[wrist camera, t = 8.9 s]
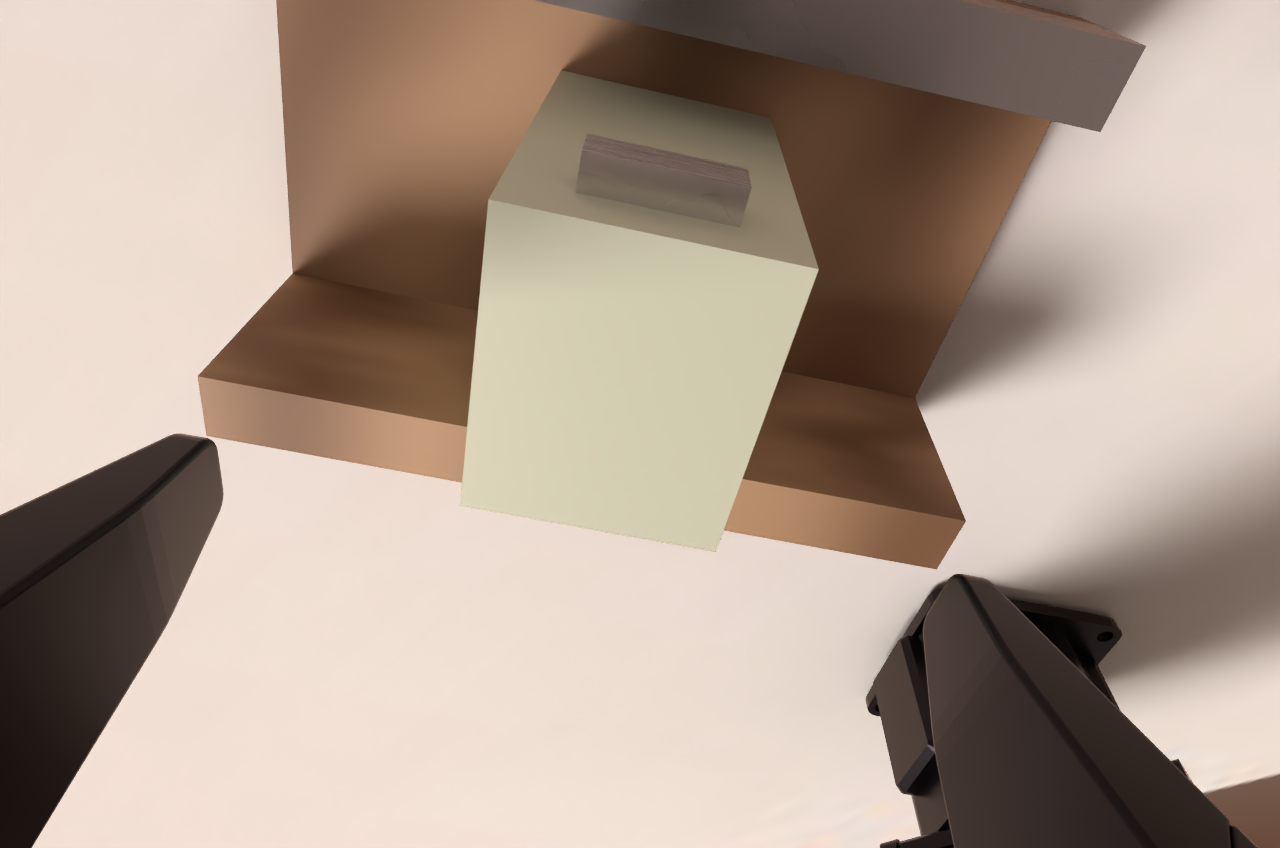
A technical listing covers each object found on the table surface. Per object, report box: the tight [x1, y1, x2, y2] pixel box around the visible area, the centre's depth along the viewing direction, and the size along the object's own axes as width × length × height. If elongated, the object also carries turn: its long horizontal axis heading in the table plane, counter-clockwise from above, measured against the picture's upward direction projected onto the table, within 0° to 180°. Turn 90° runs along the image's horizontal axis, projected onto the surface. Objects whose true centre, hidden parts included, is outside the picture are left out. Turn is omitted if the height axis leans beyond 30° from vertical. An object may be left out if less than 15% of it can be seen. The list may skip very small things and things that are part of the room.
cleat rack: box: [198, 0, 1146, 569], centre depth 16 cm, size 16×10×6 cm, turn 79°
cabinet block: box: [460, 70, 819, 552], centre depth 15 cm, size 4×6×8 cm
